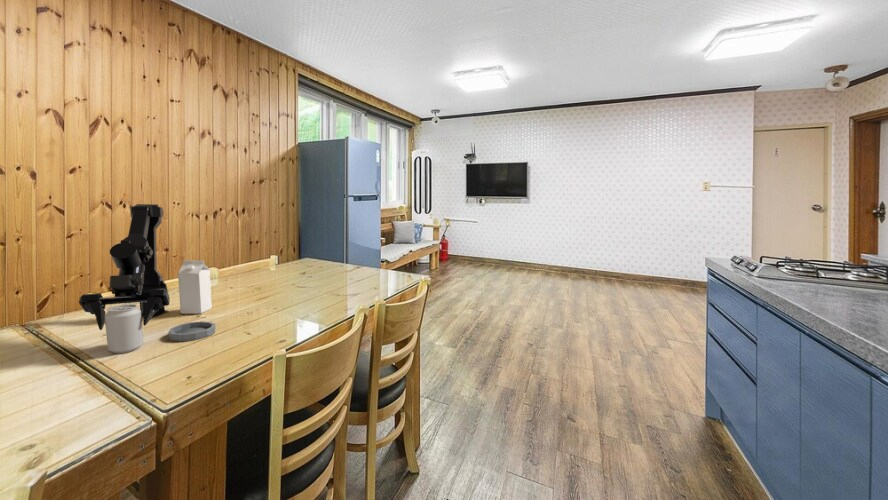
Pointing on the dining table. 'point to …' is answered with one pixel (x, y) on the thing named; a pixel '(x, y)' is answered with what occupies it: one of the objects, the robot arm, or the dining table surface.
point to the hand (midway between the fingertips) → (122, 327)
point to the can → (124, 328)
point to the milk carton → (194, 287)
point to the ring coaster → (192, 331)
